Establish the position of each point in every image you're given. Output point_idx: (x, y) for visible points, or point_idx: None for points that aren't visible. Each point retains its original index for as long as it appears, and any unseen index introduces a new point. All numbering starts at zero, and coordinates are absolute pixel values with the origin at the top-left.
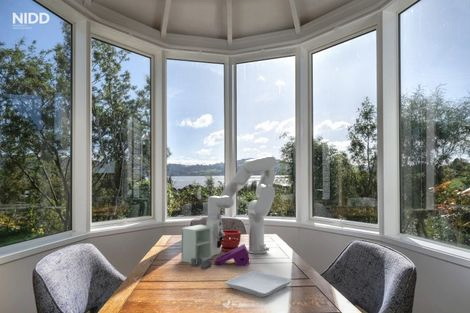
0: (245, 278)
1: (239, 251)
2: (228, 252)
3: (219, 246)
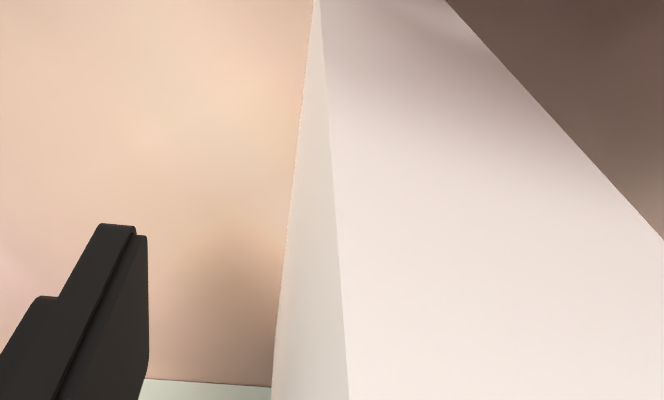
0: None
1: None
2: None
3: None
